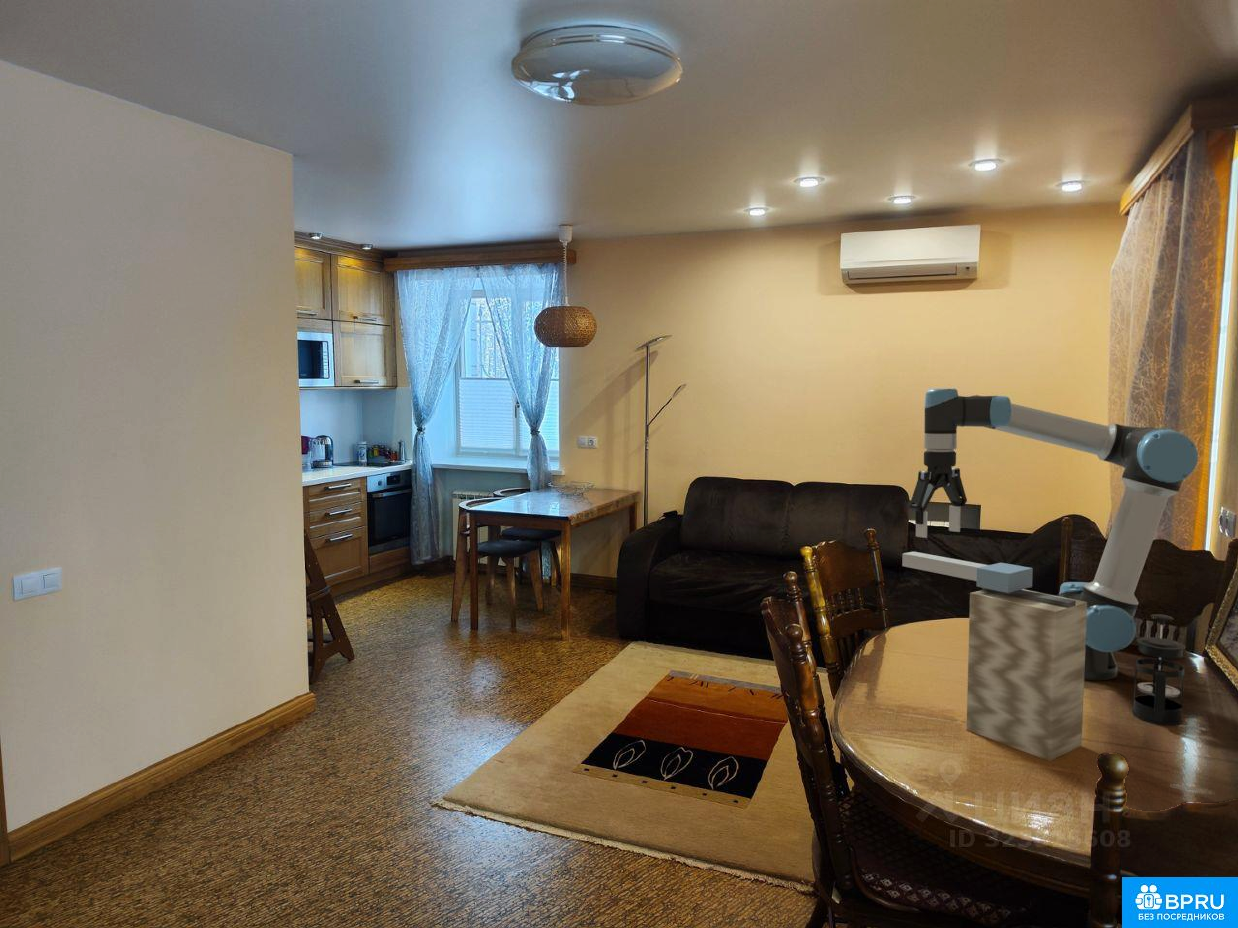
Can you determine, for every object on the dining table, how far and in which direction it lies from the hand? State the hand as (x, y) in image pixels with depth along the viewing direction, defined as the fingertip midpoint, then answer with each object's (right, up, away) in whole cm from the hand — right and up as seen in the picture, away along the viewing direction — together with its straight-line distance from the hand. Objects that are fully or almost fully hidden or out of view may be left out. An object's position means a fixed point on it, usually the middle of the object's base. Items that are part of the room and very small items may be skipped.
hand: (938, 534), depth 202 cm
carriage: (-5, -8, -24) cm, 26 cm away
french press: (+39, -39, -25) cm, 60 cm away
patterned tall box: (+4, -40, -34) cm, 53 cm away
